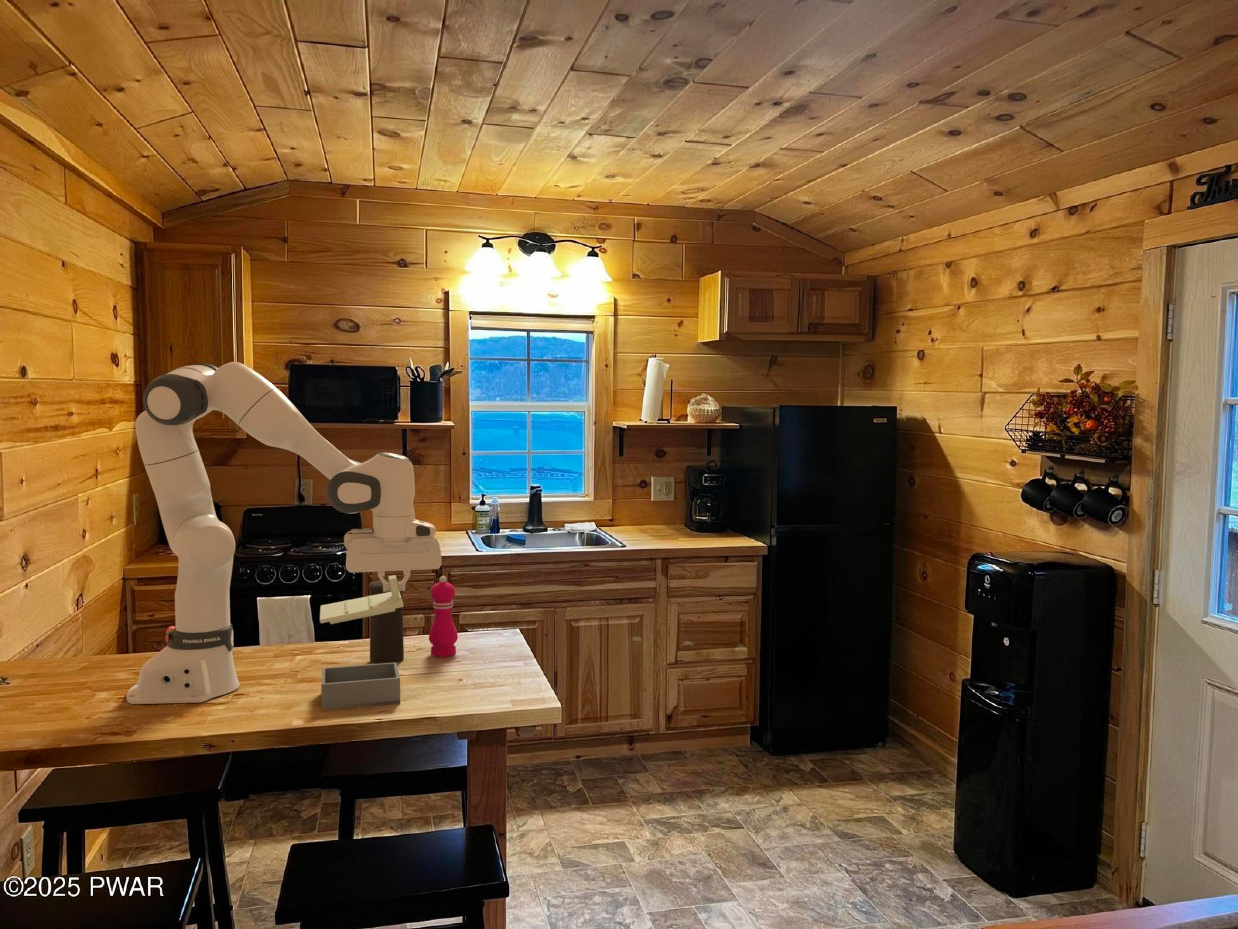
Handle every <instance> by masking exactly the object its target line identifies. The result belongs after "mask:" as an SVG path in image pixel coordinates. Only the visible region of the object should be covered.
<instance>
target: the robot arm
mask: <svg viewBox="0 0 1238 929" xmlns="http://www.w3.org/2000/svg"><path fill="white" fill-rule="evenodd" d="M142 402H143V407H144V409H145V410H144V411H143V412H141V413H140V414H138V416H136V419H135V426H134V427H135V435H136V441H137V444H138V449H139V453H140V456H141V460H142V462H143V466H144V468H145V471H146V474H147V476H148V479H149V482H150V485H151V488H152V491H153V493H154V496H155V499H156V503H157V507H158V512H159V515H160V519H161V522H162V526H163V530H164V533H165V537H166V539H167V542H168V545H169V548H170V550H171V552H173V554H174V555H176V556H177V558H178V559H177V560H178V567H177V568H178V569H177V570H178V571H177V580H176V587H175V588H176V589H175V591H174V610H175V611H174V614H175V616H174V617H175V626H174V625H171V626H169V627H168V628H166V629H167V630H166V631H165V645H166V646H165V647H163V649H161V650H160V651H159V652H157V653H156V654H155V655H154V656H152V657H151V658H150V659H148V660H147V661H146V663H144V664H143V665H142V667H141V669H140V671H139V675H138V680H137V683H136V684H134V685H132V687H131V686H130V688H129V690H128V691H127V692H126V693H127V694H126V702H127V703H128V704H130V705H143V704H145V705H146V704H147V705H148V704H150V705H153V704H187V703H190V704H191V703H192V704H193V703H204V702H206V701H209V700H211V699H214V698H217V697H221V696H223V695H226V694H229V693H231V692H233V691H236V690H237V689H238V688H239V687H240V685H241V684H240V680H239V678H238V675H237V671H236V666H235V661H234V657H233V648H234V629H233V624H232V623H231V606H230V605H231V602H230V601H231V599H230V589H231V588H230V587H231V580H232V575H233V574H232V573H233V565H234V555H235V551H236V540H235V537H234V533H233V532H232V530H231V529H230V527H229V525H227V524H225V523H224V522H222V521H220V520H219V518H218V517H217V514H216V510H215V506H214V501H213V496H212V491H211V483H210V480H209V477H208V472H207V471H206V468H205V465H204V462H203V458H202V456H201V453H200V449H199V448H198V444H197V442H196V439H195V437H194V432H193V429H194V428H193V426H194V423H195V422H196V421H197V420H199V419H203V418H204V417H206V416H208V415H209V414H210V413H212V412H215V411H217V412H221V413H223V414H224V415H226V416H227V417H228V418H229V419H231V420H232V421H233V422H234V423H235V424H236V425H237V426H238V427H239V428H241V429H242V430H243V431H244V432H245V433H247V434H248V435H249V436H250V437H252V438H254V439H255V440H257V441H259V442H260V443H262V444H264V445H265V446H268V447H272V448H278V449H284V450H287V451H289V452H293V453H295V454H296V455H298V456H300V457H301V458H303V459H304V460H306V461H307V463H309V464H310V465H312V466H313V468H315V469H317V471H319V473H321V474H322V475H324V476H325V477H326V478H327V479H328V480H329V482H328V483H327V487H326V496H327V500H328V502H329V504H330V505H331V506H332V507H333V508H334V509H335V510H336V511H338V512H340V513H344V514H349V515H350V514H351V515H352V514H358V513H360V512H366V511H372V527H371V528H352V529H351V530H349V531H347V532H346V533H345V534H344V536H343V544H344V547H345V549H347V550H346V557H345V558H346V559H345V569H346V570H347V571H348V572H349V573H370V572H377V578H379V580H381V582H382V583H383V592H386V591H390V582H386V581H385V580H386V579H385V578H384V577H385V576H386V573H385V572H397V571H398V572H399V571H401V572H403V575H404V576H403V578H402V580H400V581H401V582H398V589H399V591H403V592H405V591H406V583H407V582H408V580H409V579H410V577H411V571H425V570H439V569H440V567H441V566H442V564H443V563H442V551H441V545H440V542H439V540H438V538H437V537H436V532H437V531H436V527H435V525H434V524H432V523H430V522H427V521H424V520H419V519H416V514H415V508H414V499H415V496H416V490H415V489H416V488H415V487H416V482H415V480H416V479H415V471H414V466H413V463H412V461H411V460H410V459H409V458H408V457H407V456H405V455H402V454H398V453H394V452H393V453H392V452H378V453H377V454H375V455H374V456H373V457H371V458H369V459H368V460H365V461H363V462H358V461H355V460H354V459H351V458H350V457H348V456H347V455H346V454H344V453H343V452H342V451H341V450H339V449H338V448H337V447H336V446H335V445H333V443H331V442H330V441H329V440H327V439H326V438H325V437H324V436H323V435H322V434H321V433H320V432H318V431H317V430H316V429H315V428H314V426H313V425H312V424H311V423H310V422H309V421H308V420H307V419H306V418H305V416H304V415H303V414H302V413H301V411H299V409H298V408H297V407H296V406H295V405H294V403H293V402H292V401H291V400H290V399H288V397H287V396H286V395H285V394H284V393H283V392H282V391H280V389H279V388H277V386H275V385H274V384H273V383H271V382H270V381H269V380H268V379H266V377H264V376H263V375H261V374H260V373H258V372H257V371H255V370H254V369H252V368H250V367H249V366H247V365H246V364H244V363H242V362H238V361H231V362H227V363H225V364H223V365H221V366H219V367H217V366H216V365H213V364H209V363H199V362H198V363H194V364H190V365H185V366H181V367H180V366H179V367H178V368H175V369H173V370H172V371H170V372H168V373H165V374H161V375H159V376H157V377H155V378H154V379H153V380H152V381H151V382H150V383H148V384H147V386H146V387H145V390H144V392H143V396H142Z"/></svg>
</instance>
